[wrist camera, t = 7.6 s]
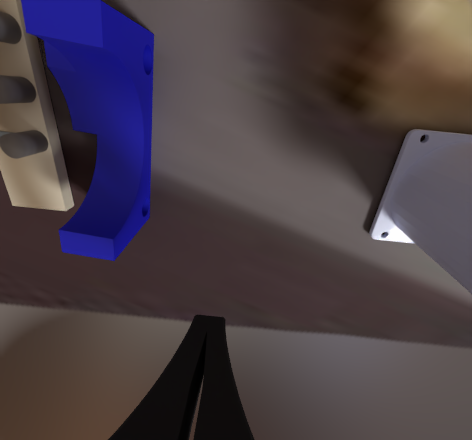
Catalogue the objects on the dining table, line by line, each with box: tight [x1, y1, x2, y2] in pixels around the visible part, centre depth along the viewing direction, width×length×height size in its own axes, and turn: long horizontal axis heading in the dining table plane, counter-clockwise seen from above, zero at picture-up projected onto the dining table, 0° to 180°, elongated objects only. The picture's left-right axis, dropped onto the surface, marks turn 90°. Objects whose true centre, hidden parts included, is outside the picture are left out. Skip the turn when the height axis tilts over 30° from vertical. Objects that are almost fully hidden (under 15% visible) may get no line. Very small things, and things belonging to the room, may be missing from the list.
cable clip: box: [21, 0, 154, 261], centre depth 15 cm, size 12×4×6 cm, turn 170°
